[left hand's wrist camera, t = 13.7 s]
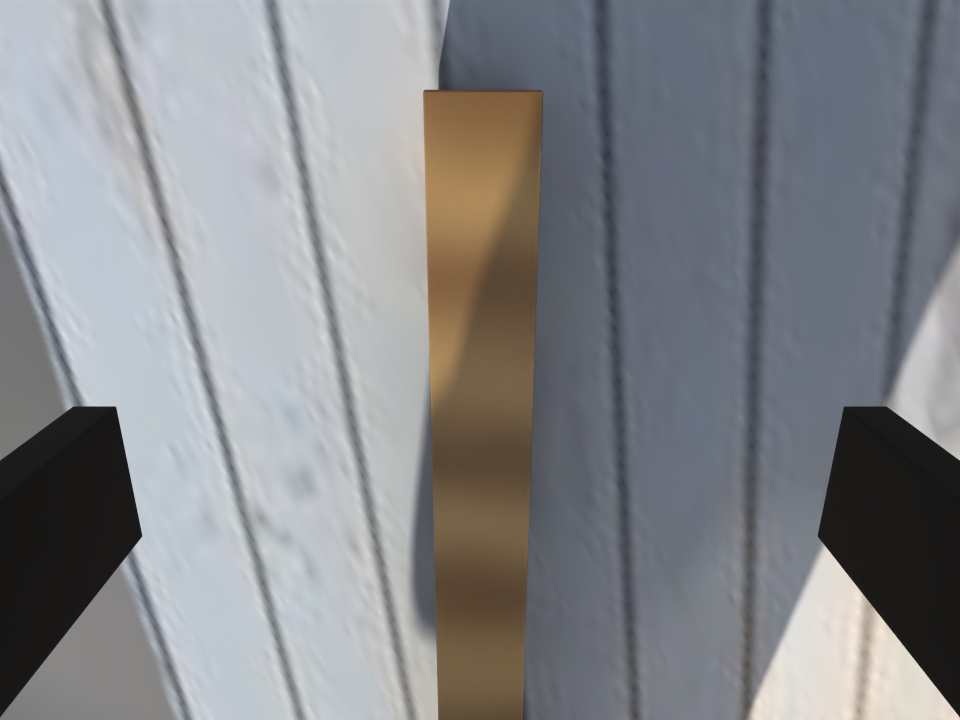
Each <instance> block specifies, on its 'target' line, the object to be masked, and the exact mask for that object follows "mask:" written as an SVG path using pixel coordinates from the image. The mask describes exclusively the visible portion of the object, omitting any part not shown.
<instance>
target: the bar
mask: <svg viewBox="0 0 960 720" xmlns="http://www.w3.org/2000/svg"><path fill="white" fill-rule="evenodd" d="M423 103H424V144H425V186H426V227H427V268H428V310H429V351H430V393H431V434H432V475H433V517H434V558H435V599H436V641H437V682H438V720H522V719H523V688H524V658H525V628H526V598H527V567H528V537H529V507H530V476H531V446H532V416H533V386H534V355H535V325H536V295H537V264H538V234H539V204H540V174H541V143H542V113H543V91H542V90H424V92H423Z"/></svg>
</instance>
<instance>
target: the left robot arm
mask: <svg viewBox="0 0 960 720" xmlns="http://www.w3.org/2000/svg"><path fill="white" fill-rule="evenodd" d="M141 537H142V532H141V527H140V522H139V517H138V513H137V508H136V503H135V498H134V493H133V488H132V483H131V478H130V473H129V468H128V463H127V458H126V453H125V449H124V444H123V439H122V434H121V429H120V424H119V419H118V414H117V409H116V407H72V408H71V409H70V410H68V411H67V412H65V413H64V414H63V415H61V416H60V417H59V418H57V419H56V420H55V421H53V422H52V423H51V424H49V425H48V426H47V427H45V428H44V429H42V430H41V431H40V432H38V433H37V434H36V435H34V436H33V437H32V438H30V439H29V440H28V441H26V442H25V443H23V444H22V445H21V446H19V447H18V448H17V449H15V450H14V451H13V452H11V453H10V454H9V455H7V456H6V457H5V458H3V459H2V460H1V461H0V717H1V715H2V714H3V713H4V712H5V710H6V709H7V708H8V706H9V705H10V704H11V703H12V701H13V700H14V699H15V698H16V696H17V695H18V694H19V693H20V691H21V690H22V689H23V687H24V686H25V685H26V684H27V682H28V681H29V680H30V678H31V677H32V676H33V675H34V673H35V672H36V671H37V670H38V668H39V667H40V666H41V665H42V663H43V662H44V661H45V659H46V658H47V657H48V655H49V654H50V653H51V652H52V650H53V649H54V648H55V647H56V645H57V644H58V643H59V641H60V640H61V639H62V638H63V637H64V635H65V634H66V633H67V631H68V630H69V629H70V628H71V626H72V625H73V624H74V623H75V621H76V620H77V619H78V617H79V616H80V615H81V614H82V612H83V611H84V610H85V608H86V607H87V606H88V605H89V603H90V602H91V601H92V600H93V598H94V597H95V596H96V594H97V593H98V592H99V591H100V589H101V588H102V587H103V586H104V584H105V583H106V582H107V580H108V579H109V578H110V577H111V575H112V574H113V573H114V572H115V570H116V569H117V568H118V566H119V565H120V564H121V563H122V561H123V560H124V559H125V558H126V556H127V555H128V554H129V552H130V551H131V550H132V549H133V547H134V546H135V545H136V544H137V542H138V541H139V540H140V538H141ZM818 537H819V538H820V540H821V541H822V542H823V544H824V545H825V546H826V547H827V549H828V550H829V551H830V552H831V554H832V555H833V556H834V558H835V559H836V560H837V561H838V563H839V564H840V565H841V566H842V568H843V569H844V570H845V572H846V573H847V574H848V575H849V577H850V578H851V579H852V581H853V582H854V583H855V584H856V586H857V587H858V588H859V589H860V591H861V592H862V593H863V595H864V596H865V597H866V598H867V600H868V601H869V602H870V603H871V605H872V606H873V607H874V609H875V610H876V611H877V612H878V614H879V615H880V616H881V617H882V619H883V620H884V621H885V623H886V624H887V625H888V626H889V628H890V629H891V630H892V631H893V633H894V634H895V635H896V637H897V638H898V639H899V640H900V642H901V643H902V644H903V645H904V647H905V648H906V649H907V651H908V652H909V653H910V654H911V656H912V657H913V658H914V659H915V661H916V662H917V663H918V665H919V666H920V667H921V668H922V670H923V671H924V672H925V673H926V675H927V676H928V677H929V679H930V680H931V681H932V682H933V684H934V685H935V686H936V687H937V689H938V690H939V691H940V693H941V694H942V695H943V696H944V698H945V699H946V700H947V701H948V703H949V704H950V705H951V707H952V708H953V709H954V710H955V712H956V713H957V714H958V715H959V717H960V460H958V459H957V458H955V457H954V456H953V455H951V454H950V453H949V452H947V451H946V450H945V449H943V448H942V447H941V446H939V445H938V444H937V443H935V442H934V441H932V440H931V439H930V438H928V437H927V436H926V435H924V434H923V433H922V432H920V431H919V430H918V429H916V428H915V427H913V426H912V425H911V424H909V423H908V422H907V421H905V420H904V419H903V418H901V417H900V416H899V415H897V414H896V413H895V412H893V411H892V410H890V409H889V408H888V407H844V409H843V414H842V419H841V424H840V429H839V434H838V439H837V444H836V449H835V453H834V458H833V463H832V468H831V473H830V478H829V483H828V488H827V493H826V498H825V503H824V508H823V513H822V517H821V522H820V527H819V532H818Z"/></svg>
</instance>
